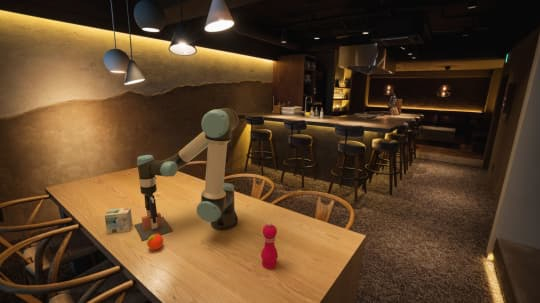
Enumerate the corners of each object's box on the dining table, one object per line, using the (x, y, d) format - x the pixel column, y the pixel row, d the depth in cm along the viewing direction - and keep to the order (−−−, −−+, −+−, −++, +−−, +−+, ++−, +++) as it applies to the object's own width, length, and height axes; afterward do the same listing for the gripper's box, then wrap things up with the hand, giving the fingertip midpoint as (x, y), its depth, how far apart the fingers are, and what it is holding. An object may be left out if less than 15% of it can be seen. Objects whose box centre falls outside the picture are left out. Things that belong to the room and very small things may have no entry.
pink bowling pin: (277, 258, 110) (278, 217, 105) (278, 269, 103) (279, 227, 98) (260, 258, 110) (261, 217, 105) (260, 270, 103) (261, 227, 98)
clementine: (152, 255, 111) (150, 241, 109) (142, 250, 114) (140, 237, 112) (167, 246, 118) (165, 233, 116) (157, 242, 121) (156, 229, 119)
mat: (173, 231, 130) (173, 230, 130) (142, 241, 121) (141, 240, 121) (163, 217, 144) (163, 216, 144) (134, 225, 135) (134, 224, 135)
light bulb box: (106, 234, 127) (103, 215, 124) (111, 227, 133) (108, 209, 130) (129, 231, 130) (127, 212, 127) (133, 224, 136) (130, 207, 133)
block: (161, 224, 135) (160, 214, 133) (143, 230, 130) (142, 219, 128) (160, 223, 137) (159, 212, 135) (142, 228, 131) (141, 217, 130)
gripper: (161, 189, 122) (165, 230, 127) (150, 177, 138) (154, 215, 143) (145, 193, 117) (150, 235, 123) (135, 180, 133) (140, 219, 139)
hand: (152, 224), depth 133 cm, fingers open, 8 cm apart
